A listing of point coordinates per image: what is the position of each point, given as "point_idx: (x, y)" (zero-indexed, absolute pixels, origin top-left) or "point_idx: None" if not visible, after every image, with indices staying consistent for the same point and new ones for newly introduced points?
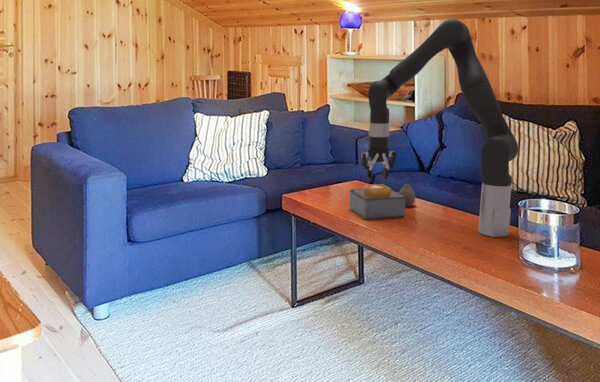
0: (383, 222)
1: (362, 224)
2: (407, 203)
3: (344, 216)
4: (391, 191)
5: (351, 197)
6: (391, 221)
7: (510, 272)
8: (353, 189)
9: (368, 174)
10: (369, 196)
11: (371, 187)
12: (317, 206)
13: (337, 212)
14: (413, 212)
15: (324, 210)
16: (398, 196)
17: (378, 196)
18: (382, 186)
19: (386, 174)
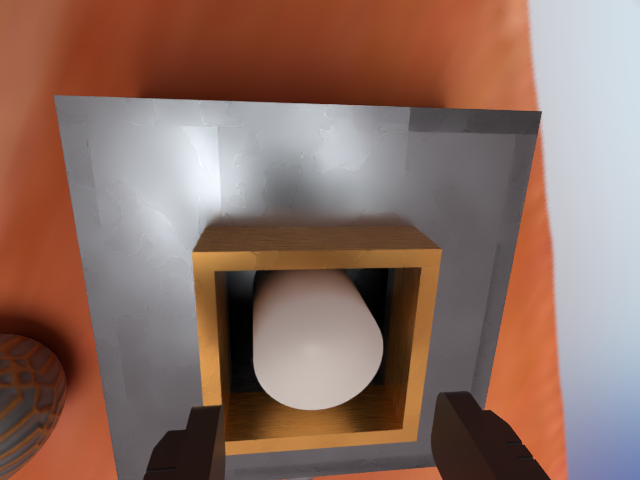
0: (351, 12)
1: (511, 14)
2: (8, 337)
3: None
4: (141, 346)
5: None
6: (282, 17)
7: None
8: None
9: (528, 461)
10: (448, 207)
11: (380, 359)
12: (543, 442)
13: (509, 318)
14: (17, 202)
15: (551, 368)
16: (144, 118)
17: (364, 182)
18: (253, 358)
19: (192, 460)
